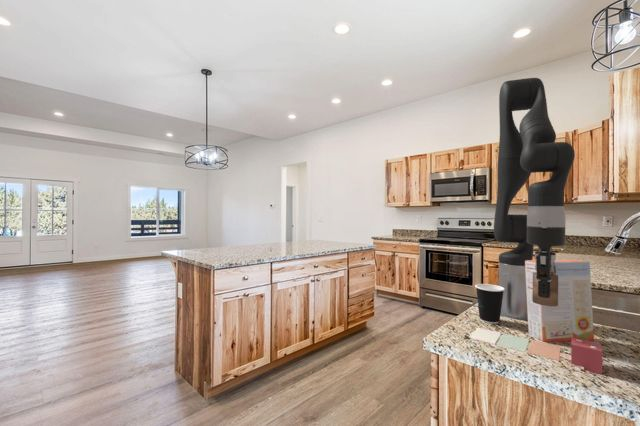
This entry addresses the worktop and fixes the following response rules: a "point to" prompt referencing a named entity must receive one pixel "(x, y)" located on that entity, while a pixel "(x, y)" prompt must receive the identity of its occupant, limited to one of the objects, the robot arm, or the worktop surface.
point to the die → (587, 355)
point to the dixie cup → (489, 302)
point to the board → (517, 343)
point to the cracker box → (562, 304)
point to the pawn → (553, 290)
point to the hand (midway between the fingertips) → (544, 294)
